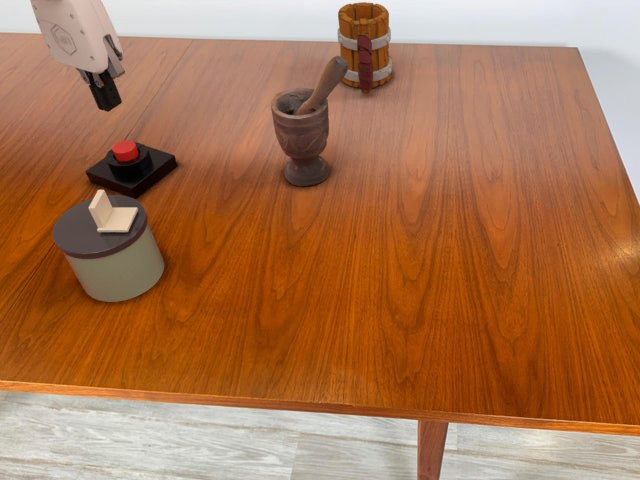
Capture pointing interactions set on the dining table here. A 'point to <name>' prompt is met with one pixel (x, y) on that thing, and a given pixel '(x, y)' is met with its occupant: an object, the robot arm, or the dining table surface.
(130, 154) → the button
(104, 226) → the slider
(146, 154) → the button block
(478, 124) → the dining table surface
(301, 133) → the mortar and pestle
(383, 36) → the mug
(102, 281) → the grey green round canister
